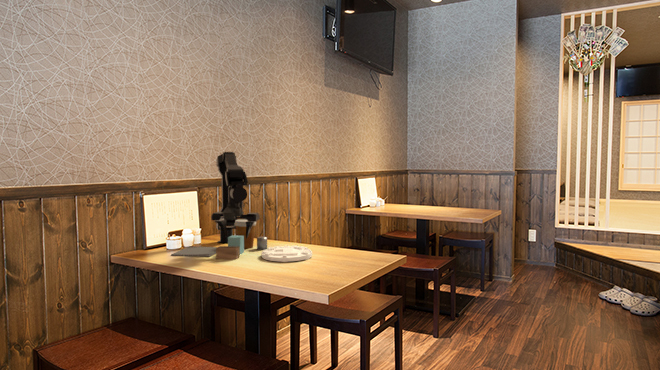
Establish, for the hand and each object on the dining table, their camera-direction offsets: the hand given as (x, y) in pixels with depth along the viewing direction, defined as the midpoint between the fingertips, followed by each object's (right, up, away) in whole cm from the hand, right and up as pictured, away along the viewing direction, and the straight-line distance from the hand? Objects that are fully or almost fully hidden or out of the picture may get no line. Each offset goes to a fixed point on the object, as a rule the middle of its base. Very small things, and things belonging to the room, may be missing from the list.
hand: (235, 237), depth 175 cm
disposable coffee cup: (+2, -6, +12) cm, 14 cm away
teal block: (0, -7, 0) cm, 7 cm away
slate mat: (-16, -6, +2) cm, 17 cm away
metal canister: (+9, -6, +9) cm, 14 cm away
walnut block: (-1, -7, -9) cm, 11 cm away
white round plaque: (+21, -7, -6) cm, 23 cm away
